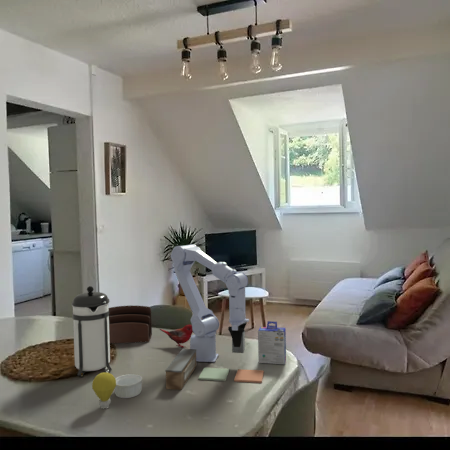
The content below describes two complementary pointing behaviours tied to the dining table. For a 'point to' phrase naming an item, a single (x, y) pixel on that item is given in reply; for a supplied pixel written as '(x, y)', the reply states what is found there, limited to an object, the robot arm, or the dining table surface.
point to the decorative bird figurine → (180, 334)
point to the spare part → (242, 346)
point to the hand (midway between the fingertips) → (237, 344)
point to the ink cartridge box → (272, 344)
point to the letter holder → (130, 324)
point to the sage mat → (214, 374)
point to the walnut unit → (180, 369)
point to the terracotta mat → (249, 376)
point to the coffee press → (91, 331)
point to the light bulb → (104, 388)
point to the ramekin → (128, 385)
